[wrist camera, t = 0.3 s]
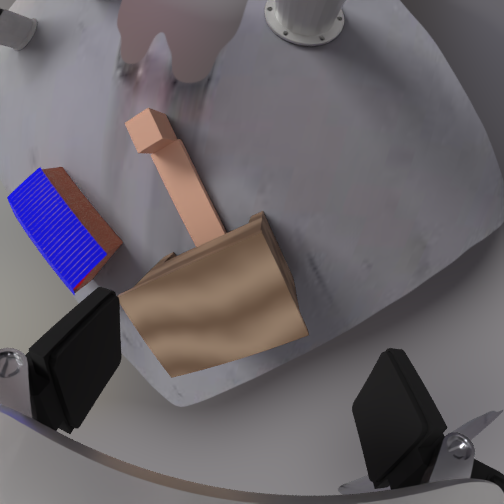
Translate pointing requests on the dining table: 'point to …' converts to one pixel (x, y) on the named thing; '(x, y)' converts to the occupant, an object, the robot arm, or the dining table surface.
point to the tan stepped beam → (176, 174)
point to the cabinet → (217, 301)
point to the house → (63, 226)
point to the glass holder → (16, 29)
